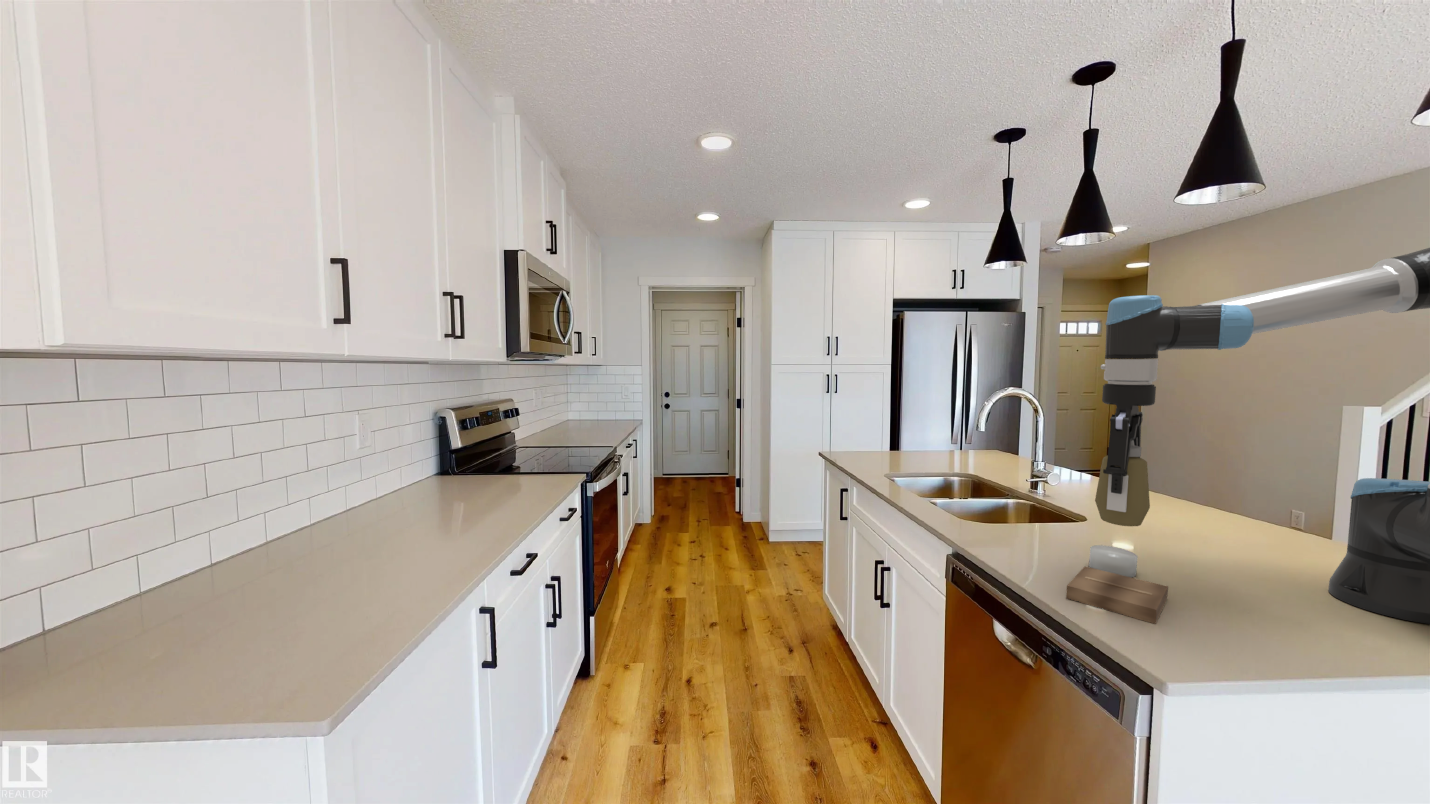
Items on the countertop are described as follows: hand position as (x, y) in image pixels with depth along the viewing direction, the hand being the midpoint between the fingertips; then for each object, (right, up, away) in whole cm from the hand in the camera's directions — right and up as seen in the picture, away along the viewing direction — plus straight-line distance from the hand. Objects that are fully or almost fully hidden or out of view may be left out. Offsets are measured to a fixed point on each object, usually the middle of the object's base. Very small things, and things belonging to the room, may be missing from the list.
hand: (1121, 505), depth 96 cm
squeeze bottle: (0, -3, 0) cm, 3 cm away
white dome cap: (+9, -17, +15) cm, 24 cm away
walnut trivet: (0, -18, +2) cm, 18 cm away
